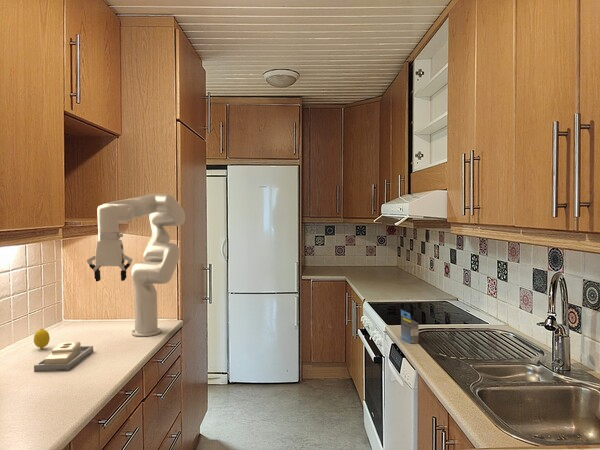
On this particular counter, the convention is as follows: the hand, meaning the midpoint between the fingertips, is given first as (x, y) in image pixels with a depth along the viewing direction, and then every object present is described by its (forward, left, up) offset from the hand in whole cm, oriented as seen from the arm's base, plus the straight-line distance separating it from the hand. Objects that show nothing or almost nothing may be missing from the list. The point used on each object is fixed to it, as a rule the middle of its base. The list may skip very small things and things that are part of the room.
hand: (110, 280), depth 194 cm
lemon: (-3, -28, -27) cm, 39 cm away
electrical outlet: (+15, -12, -26) cm, 33 cm away
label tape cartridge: (-5, +119, -27) cm, 122 cm away
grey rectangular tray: (+14, -12, -27) cm, 33 cm away
